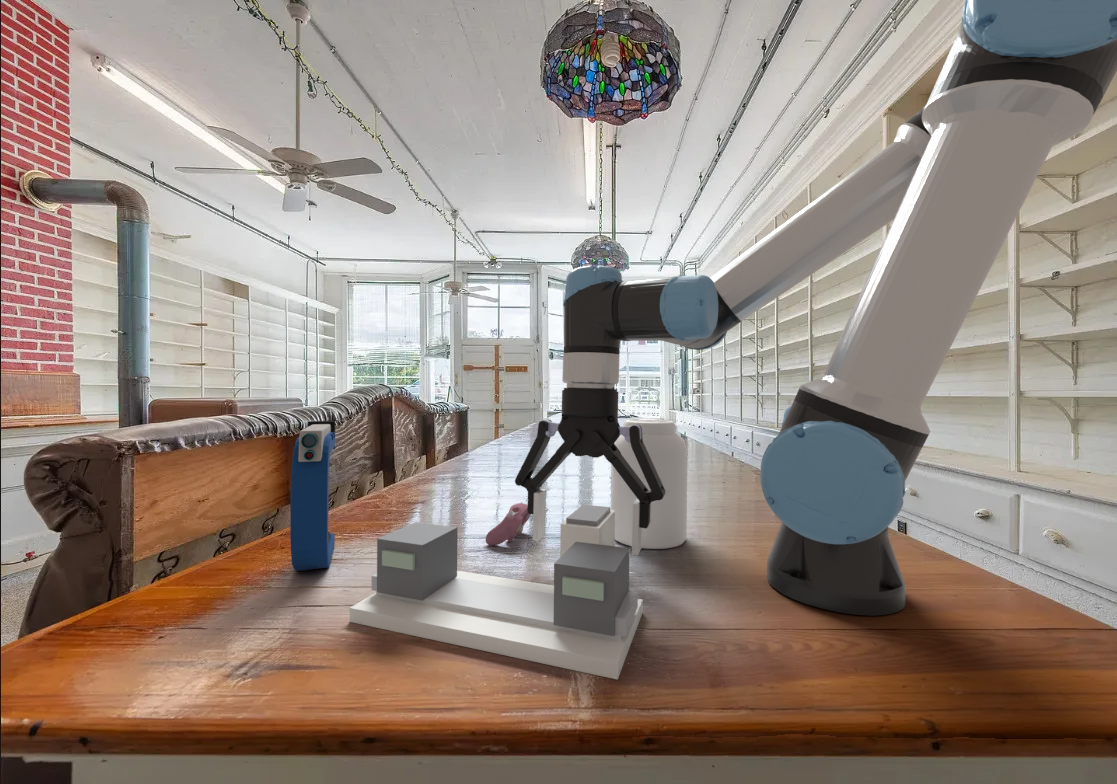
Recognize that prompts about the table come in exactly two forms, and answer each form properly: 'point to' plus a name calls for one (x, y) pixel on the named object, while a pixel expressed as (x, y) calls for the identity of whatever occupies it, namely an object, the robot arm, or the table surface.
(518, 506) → the pink rounded piece
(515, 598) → the board
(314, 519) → the handheld scanner
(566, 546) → the block
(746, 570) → the table surface
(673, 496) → the white jar
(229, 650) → the table surface
